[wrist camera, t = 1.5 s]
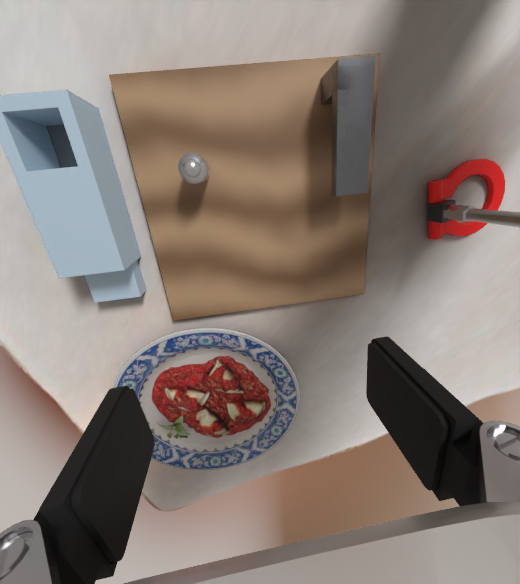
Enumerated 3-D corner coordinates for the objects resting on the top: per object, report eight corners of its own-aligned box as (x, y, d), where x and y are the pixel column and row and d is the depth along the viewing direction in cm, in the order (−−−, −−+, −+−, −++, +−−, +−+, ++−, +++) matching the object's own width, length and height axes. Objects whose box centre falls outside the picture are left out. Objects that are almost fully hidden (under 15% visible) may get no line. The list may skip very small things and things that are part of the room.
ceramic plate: (256, 289, 32) (259, 298, 30) (317, 420, 43) (323, 436, 40) (76, 367, 34) (62, 383, 31) (176, 476, 44) (173, 495, 41)
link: (150, 289, 31) (136, 307, 26) (98, 296, 30) (74, 316, 26) (98, 108, 24) (66, 89, 19) (29, 114, 23) (-20, 96, 19)
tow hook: (499, 150, 29) (423, 174, 29) (688, 127, 18) (565, 166, 17) (492, 223, 33) (424, 245, 33) (647, 243, 21) (544, 279, 21)
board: (113, 79, 23) (108, 74, 22) (373, 58, 24) (379, 53, 24) (175, 316, 32) (173, 320, 31) (360, 291, 34) (363, 294, 33)
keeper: (320, 78, 24) (338, 58, 20) (352, 76, 24) (375, 55, 20) (321, 194, 28) (336, 196, 24) (348, 191, 28) (367, 192, 24)
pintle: (182, 158, 25) (173, 153, 21) (207, 155, 25) (203, 150, 21) (187, 185, 26) (179, 185, 22) (212, 182, 26) (208, 182, 22)
